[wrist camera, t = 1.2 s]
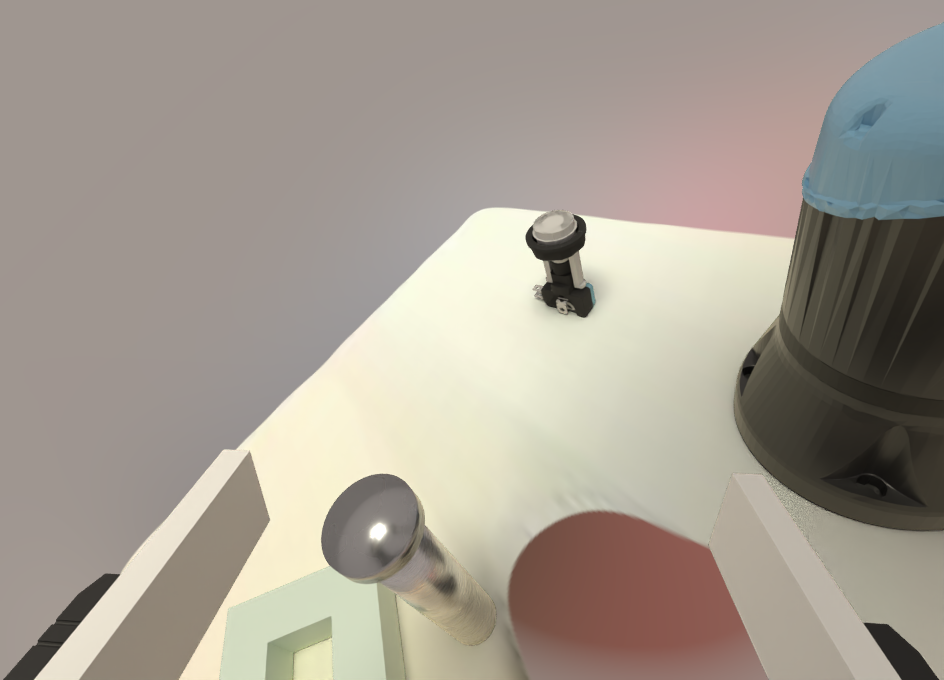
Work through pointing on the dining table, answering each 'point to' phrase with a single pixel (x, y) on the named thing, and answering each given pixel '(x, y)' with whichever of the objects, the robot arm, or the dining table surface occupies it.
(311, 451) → the dining table surface
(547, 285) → the push button
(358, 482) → the steel pin
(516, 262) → the dining table surface
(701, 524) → the dining table surface
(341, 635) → the socket block
